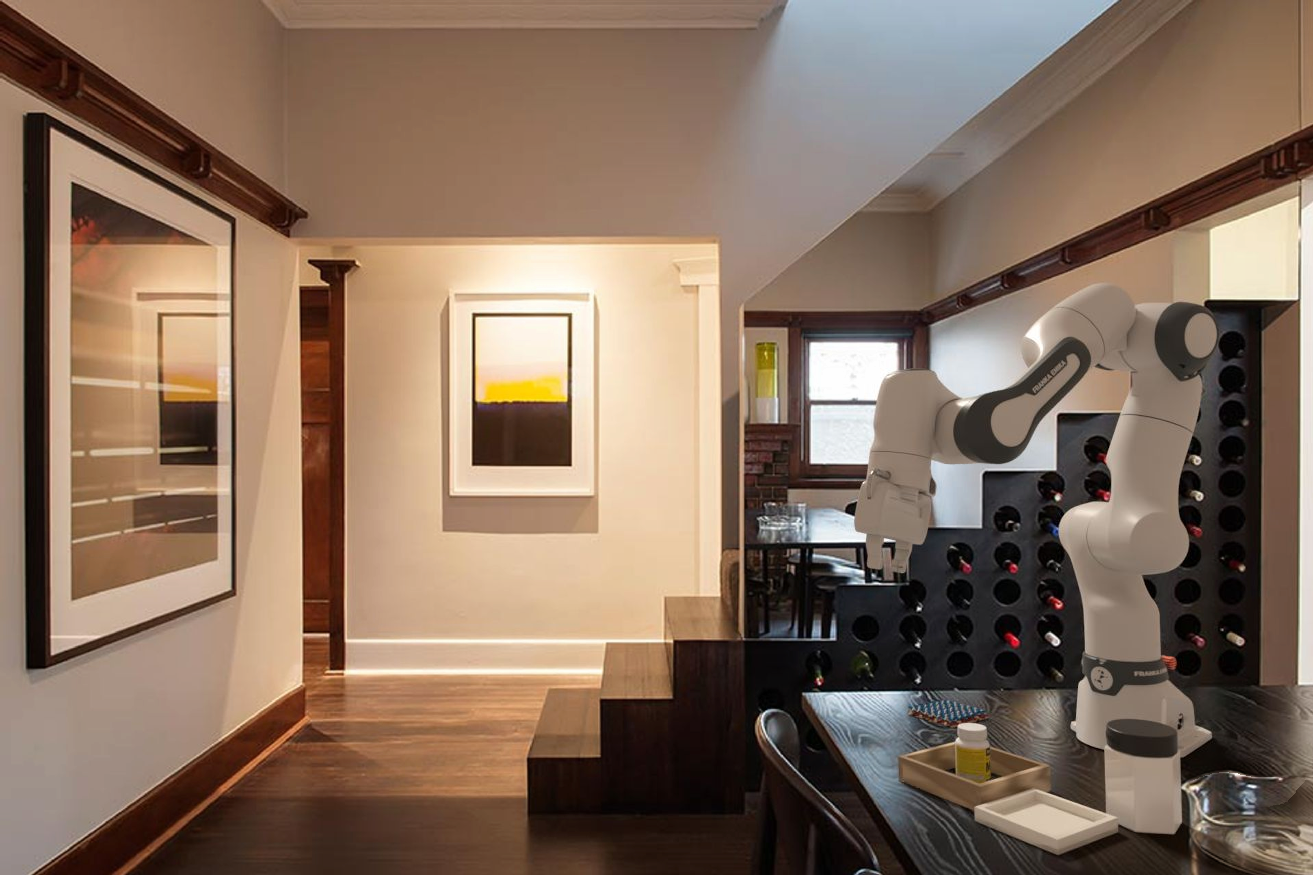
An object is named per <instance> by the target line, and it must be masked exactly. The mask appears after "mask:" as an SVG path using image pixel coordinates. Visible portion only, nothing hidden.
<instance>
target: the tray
mask: <svg viewBox="0 0 1313 875" xmlns="http://www.w3.org/2000/svg"><path fill="white" fill-rule="evenodd" d="M974 809H975V811H974V822H977V823H978V824H981V825H984V826H986V827H989V828H991V829H993V830H995V831H998V832H1001V833H1003V834H1005V835H1008V836H1010V837H1013V838H1016V839H1017V840H1020V841H1023V842H1024V843H1028V844H1030V845H1032V846H1035V847H1036V848H1039V849H1042V850H1044V851H1047V852H1049V853H1052V854H1055V855H1057V856H1060V855H1062V854H1065V853H1067V852H1070V851H1073V850H1075V849H1077V848H1078V849H1079V848H1080V847H1084V846H1087V845H1088V844H1092V843H1093V842H1096V841H1098V840H1101V839H1103V838H1106V837H1110V836H1112V835H1114V834H1116V833H1119V824H1118V817H1115V816H1112V815H1109V814H1106V812H1103V811H1100V810H1097V809H1094V808H1091V807H1089V806H1086V805H1083V804H1080V803H1077V802H1074V801H1071V800H1069V799H1066V798H1063V797H1060V796H1057V795H1055V794H1052V793H1050V792H1043V791H1041V790H1038V789H1035V788H1033V789H1030V790H1026V791H1023V792H1020V793H1017V794H1014V795H1011V796H1007V797H1004V798H1001V799H998V800H995V801H992V802H988V803H985V804H982V805H979V806H976V807H974Z"/></svg>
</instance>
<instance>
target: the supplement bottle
mask: <svg viewBox="0 0 1313 875" xmlns="http://www.w3.org/2000/svg"><path fill="white" fill-rule="evenodd" d="M956 733H957V736H958V737H957V738H956V739H955V741H954V742H955V757H956V767H955V775H957V776H960V777H963V778H966V779H968V780H971V781H974V782H977V783H979V784H980V783H983V782H987V781H990V780H992V779H991V776H992V775H991V774H992V773H991V772H990V747H991V745H990V742H989V741H988V740H987V738H988V729H987V727H986V725H983V724H980V723H976V722H972V723H962V724H959V725H958V726H957V732H956Z"/></svg>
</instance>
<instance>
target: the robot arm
mask: <svg viewBox="0 0 1313 875" xmlns="http://www.w3.org/2000/svg"><path fill="white" fill-rule="evenodd" d="M1219 337H1220V331H1219V326H1218V322H1217V320H1216V318H1215V317H1214V314H1213V312H1212V311H1211V310H1210V309H1209V308H1208V307H1206V306H1204V305H1201V304H1198V303H1194V302H1188V301H1187V302H1185V301H1176V302H1143V303H1142V302H1141V303H1139V304H1135V301H1134V300H1133V297H1132V296H1131V295H1130V294H1129V293H1128V292H1127V291H1126V290H1125V289H1124V288H1122V287H1120V286H1118V285H1116V284H1113V283H1110V282H1099V283H1098V282H1097V283H1093V284H1091V285H1088V286H1087V287H1083V288H1082V289H1081V290H1078V291H1077V292H1075V293H1073V294H1071V295H1070V296H1068V297H1067V298H1065V299H1063V300H1061V301H1060V302H1059V303H1058V304H1056V305H1055V306H1053V307H1052V308H1051V309H1050V310H1048V311H1047V312H1045V314H1043V315H1042V316H1041V317H1040V318H1038V319H1037V320H1036V321H1035V322H1034V323H1033V324H1032V325H1031V326H1030V328H1029V329H1028V330H1027V332H1025V334H1024V336H1023V337H1022V338H1021V348H1020V349H1021V355H1022V358H1023V361H1024V362H1023V363H1024V364H1025V366H1026V367H1027V369H1026V370H1025V371H1024V372H1022V374H1020V376H1019V377H1017V379H1015V380H1014V381H1013V382H1012V383H1011V384H1010V385H1009V386H1008V387H1006V388H1004V389H999V390H998V389H997V390H994V391H993V390H992V391H989V392H986V393H982V394H979V395H976V396H975V395H974V396H971V397H965V398H963V397H960V396H959V395H956V393H954V392H953V391H951V390H950V389H949V388H948V387H947V386H946V385H944V383H943V382H941V380H940V379H939V377H938V375H937V372H935V371H934V370H933V369H932V370H931V369H928V368H924V367H923V368H922V367H921V368H920V367H917V368H914V367H913V368H906V369H904V368H903V369H897V370H895V371H891V372H890V373H888V374H886V376H884V378H883V379H882V382H881V384H880V386H879V390H878V393H877V398H876V404H875V409H874V415H873V423H872V425H873V432H874V437H873V442H872V444H871V447H870V449H869V455H868V464H867V472H866V477H865V478H866V479H865V481H863V482H862V483H861V486H860V489H859V492H858V497H857V501H856V502H857V503H856V507H855V513H854V519H853V524H854V525H853V526H854V531H855V532H857V533H860V534H865V535H866V537H865V547H866V554H867V560H866V566H867V567H868V568H869V569H874V570H882V569H883V566H884V559H885V558H884V557H883V550H882V549H883V545H884V544H885V543H884V541H885V539H886V540H890V541H895V544H894V545H895V546H894V548H895V549H896V550H895V553H894V556H893V559H892V560H891V566H890V570H891V571H892V572H894V573H898V574H899V573H901V574H904V573H905V572H907V563H908V560H909V558H910V556H911V553H912V550H913V545H923V544H924V542H925V540H926V537H927V534H928V529H929V523H930V520H931V518H930V517H931V513H932V512H931V511H932V499H931V497H932V498H934V497H935V496H936V494H937V483H936V481H935V479H934V477H933V475H932V469H931V468H932V467H931V466H932V461H935V462H938V463H940V464H944V465H970V464H971V465H972V464H984V465H985V464H986V465H987V464H988V465H989V464H990V465H1003V464H1008V463H1010V462H1012V461H1015V459H1017V458H1018V457H1020V456H1021V455H1022V453H1024V452H1025V450H1026V449H1027V447H1028V445H1029V444H1030V441H1031V439H1032V437H1033V435H1034V433H1035V431H1036V430H1037V427H1038V426H1039V424H1040V423H1041V422H1042V420H1043V419H1044V418H1045V417H1046V416H1047V415H1048V414H1049V413H1050V412H1051V411H1052V410H1053V408H1054V407H1056V405H1058V403H1060V402H1061V401H1062V400H1063V399H1064V398H1065V397H1066V396H1067V395H1068V394H1069V393H1070V392H1071V391H1072V390H1073V389H1074V388H1075V387H1076V386H1077V384H1078V383H1080V382H1081V381H1082V379H1083V378H1084V377H1085V376H1086V374H1087V373H1088V372H1089V371H1091V370H1092V369H1093V368H1096V369H1100V370H1105V371H1115V370H1116V371H1122V372H1131V373H1130V374H1131V382H1132V383H1131V387H1130V390H1129V391H1128V394H1127V397H1126V399H1125V401H1124V404H1123V406H1122V408H1121V412H1120V414H1119V417H1118V421H1117V422H1116V426H1115V429H1114V433H1113V435H1112V438H1111V441H1110V445H1109V448H1108V450H1107V454H1106V458H1105V463H1106V466H1107V468H1108V470H1109V472H1110V478H1111V479H1110V480H1111V482H1110V483H1111V486H1110V488H1111V489H1110V497H1109V500H1108V501H1090V502H1087V503H1083V504H1082V503H1081V504H1079V505H1077V506H1076V505H1075V506H1074V507H1072V508H1070V509H1069V510H1068V511H1066V512H1065V513H1064V515H1063V516H1062V517H1061V519H1060V522H1059V524H1058V537H1059V540H1060V543H1061V545H1062V547H1063V548H1064V550H1065V551H1066V553H1067V555H1068V556H1069V558H1070V561H1071V563H1072V567H1073V571H1074V574H1075V577H1076V581H1077V585H1078V588H1079V593H1080V597H1081V603H1082V608H1083V626H1084V630H1083V631H1084V651H1083V652H1082V659H1081V666H1082V674H1083V675H1084V677H1083V679H1082V680H1080V681H1079V682H1078V688H1077V698H1076V699H1077V701H1076V713H1075V714H1076V716H1075V717H1076V718H1075V720H1074V721H1071V723H1070V729H1071V730H1072V731H1073V732H1075V733H1076V738H1077V739H1078V740H1079V741H1080V742H1082V743H1084V744H1086V745H1089V746H1091V747H1093V748H1098V749H1100V750H1104V751H1105V749H1104V748H1105V746H1106V745H1107V738H1106V724H1107V723H1108V722H1109V721H1112V720H1117V719H1140V720H1148V721H1154V722H1158V723H1162V724H1165V725H1168V726H1170V727H1172V728H1174V729H1175V730H1176V731H1177V733H1178V749H1179V750H1180V758H1184V757H1187V755H1189V754H1191V753H1192V752H1194V751H1195V750H1196V749H1198V748H1200V747H1202V746H1203V745H1204V744H1206V743H1207V742H1208V741H1211V739H1212V738H1213V736H1212V735H1213V734H1212V731H1210V730H1208V729H1206V728H1204V727H1202V726H1198V725H1196V721H1195V719H1196V718H1195V708H1194V704H1193V702H1192V700H1191V699H1190V698H1189V697H1188V696H1187V695H1186V694H1185V693H1183V692H1182V691H1181V690H1180V689H1178V687H1176V686H1175V685H1174V684H1173V683H1172V682H1171V681H1170V680H1169V679H1170V677H1169V672H1168V669H1169V670H1175V669H1176V667H1177V659H1176V658H1175V657H1174V656H1166V655H1164V654H1163V655H1162V654H1161V651H1162V650H1161V649H1162V647H1161V623H1160V622H1161V619H1160V617H1161V616H1160V611H1159V608H1158V604H1156V602H1155V601H1154V599H1153V598H1152V597H1151V595H1150V593H1149V591H1148V589H1147V587H1146V585H1145V581H1144V578H1143V576H1145V575H1146V576H1147V575H1157V574H1164V573H1167V572H1170V571H1172V570H1175V569H1176V568H1178V567H1179V566H1180V565H1181V564H1182V563H1183V561H1184V560H1185V558H1186V557H1187V554H1188V552H1189V548H1190V538H1189V533H1188V531H1187V527H1185V525H1184V523H1183V522H1182V520H1181V517H1180V512H1179V511H1180V510H1179V488H1180V487H1179V485H1180V478H1181V475H1182V470H1183V467H1184V463H1185V461H1186V458H1187V453H1188V450H1189V448H1190V444H1191V441H1192V437H1193V434H1194V432H1195V428H1196V424H1197V422H1198V421H1197V420H1198V416H1199V412H1200V405H1201V400H1202V393H1203V391H1202V389H1203V381H1202V378H1201V373H1202V372H1203V371H1204V370H1205V368H1206V366H1207V365H1208V363H1209V362H1210V360H1211V359H1212V358H1213V355H1214V353H1215V351H1216V349H1217V346H1218V343H1219Z"/></svg>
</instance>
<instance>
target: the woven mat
mask: <svg viewBox="0 0 1313 875" xmlns="http://www.w3.org/2000/svg"><path fill="white" fill-rule="evenodd" d="M908 709H910V710H908V712H907V714H908V715H909V716H911V717H912V716H913V717H914V716H915V718H919V719H921V720H923V719H924V720H925V721H928V722H930V723H932V722H933V723H935V724H939V725H943V726H945V727H950V728H956V727H957V728H958V725H959V724H962V723H976V722H979V721H983V720H987V719H989V714H987V710H985V709H981V708H978V707H974V706H972V705H971V706H970V705H968V704H962V703H960V702H956V701H953V700H951V701H950V700H949V699H944V700H942V699H941V698H940V699H937V701H936V700H932V701H931V702H929V701H926V702H925V704H924V703H920V704H919V705H918V704H915V705H914V707H913V706H910V705H909V706H908Z"/></svg>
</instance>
